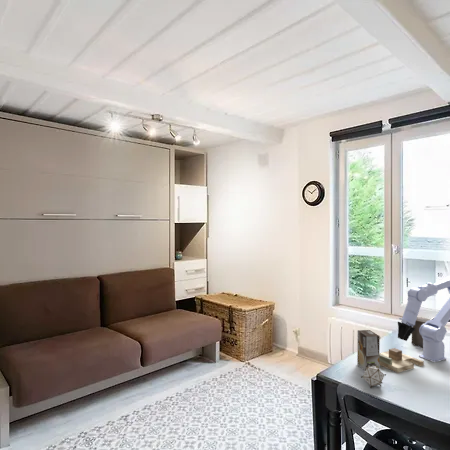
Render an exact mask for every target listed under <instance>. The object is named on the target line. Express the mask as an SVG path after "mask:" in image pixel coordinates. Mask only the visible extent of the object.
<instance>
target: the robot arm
mask: <svg viewBox="0 0 450 450" xmlns="http://www.w3.org/2000/svg"><path fill="white" fill-rule="evenodd" d="M445 289H447V291H448V294H450V275H448V276H445V278H443V279H442V280H439V281H437V282H435V283H432V282H426V283H425V284H423V285H419V286H418V287H411V288H410V289H409V290H408V291H407V303H406V305H405V308H404V312H403V313H402V314H403V315H402V317H398V319H399V320H400V321H397V327H398V329H397V338H398V339H400V340H403V341H405V342H407V341H408V340H409V338H410V336H412V332H413V331H415V328H412V327H413V325H415V322H416V319H417V317H419V313H420V309H421V307H422V306H421V305H422V303H423V302H425V301H426V300H427V299H428V298H429V297H431V296H432V297H433V296H434V295H437V293H438V291H441V290H445ZM449 321H450V297H449V298H448V299H447V301H446V302H445V303H444V305H443V306H442V307H441V309H440V310H439V311H438V312H437V314H436V315H435V317H433V319H430V320H429V321H426V323H425V324H423V325H421V327H420V329H419V332H420V334H421V335H422V338H423V347H422V354H419V356H418V357H419V358H422V359H425V360H427V361H430V362H433V363H436V362H440V361H444V360H447V357H445V343H444V341H443V340H445V336H446V334H447V332H448V331H447V328H446V327H445V326H446V325H447V324H448V323H449Z"/></svg>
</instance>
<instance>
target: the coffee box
mask: <svg viewBox="0 0 450 450" xmlns="http://www.w3.org/2000/svg"><path fill="white" fill-rule="evenodd" d="M380 340H381V339H380V335H378V334H377V333H376V332H374V331H372V330H370V329H360V330H357V357H356V358H357V366H358V367H359V368H360V369H362V370H363V371H364V372H365V369H366V368H367V367H371V366H375V364H376V367H377V368H378V369H379V370H380V365H379V353H380ZM366 366H367V367H366Z"/></svg>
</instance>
